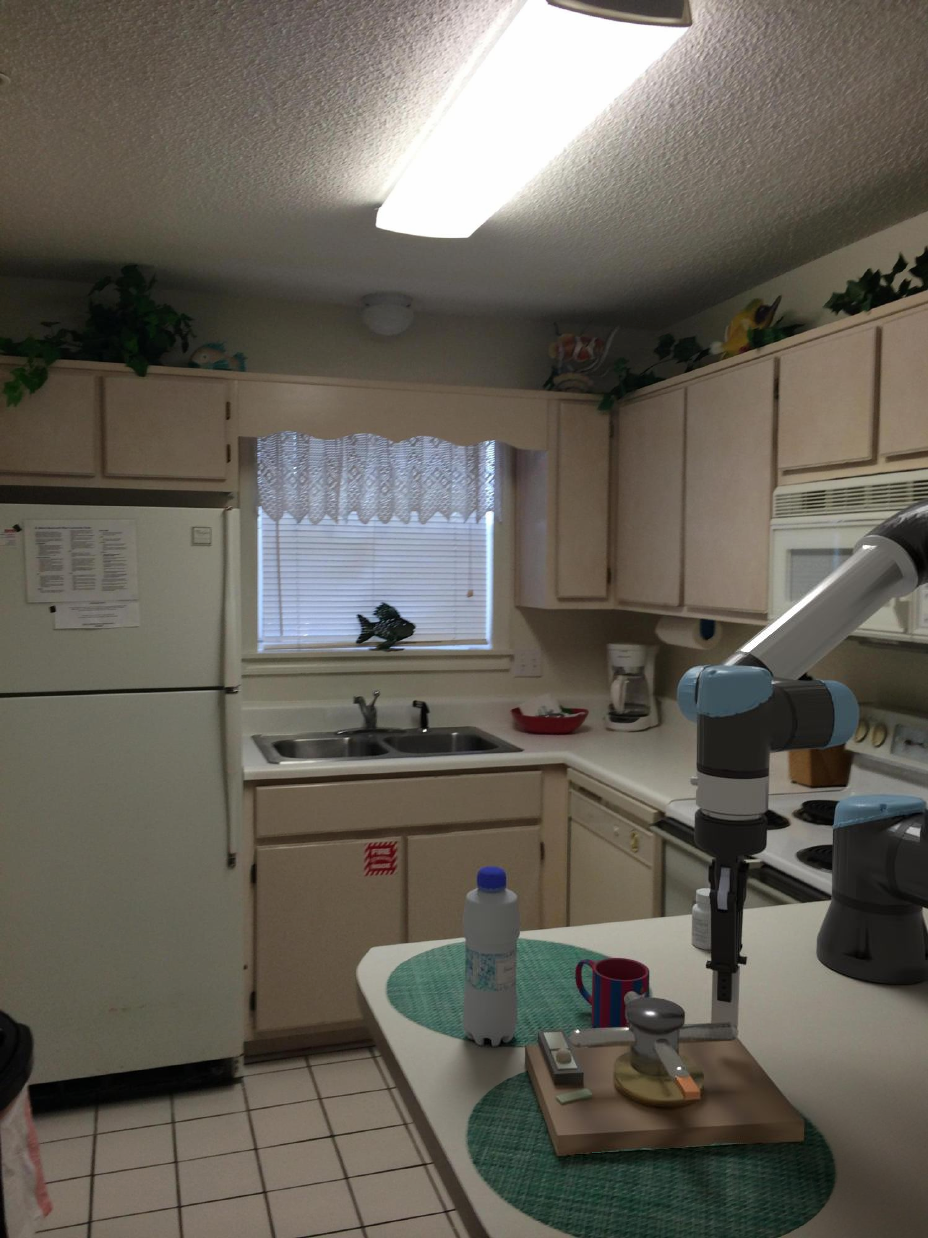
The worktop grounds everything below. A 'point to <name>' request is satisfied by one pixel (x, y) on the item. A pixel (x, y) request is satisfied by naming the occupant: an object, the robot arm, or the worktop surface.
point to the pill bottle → (702, 920)
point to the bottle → (490, 958)
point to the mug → (612, 988)
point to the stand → (608, 1120)
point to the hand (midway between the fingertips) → (724, 1025)
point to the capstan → (655, 1051)
